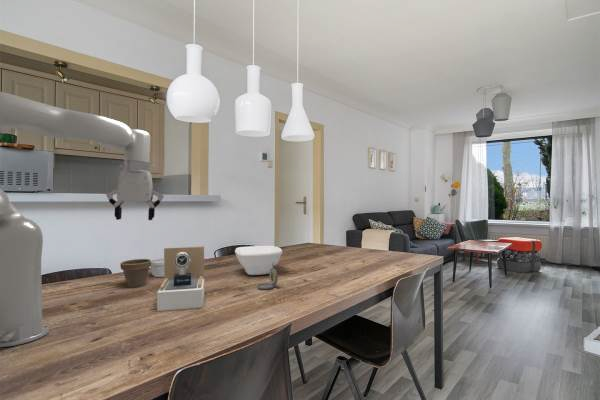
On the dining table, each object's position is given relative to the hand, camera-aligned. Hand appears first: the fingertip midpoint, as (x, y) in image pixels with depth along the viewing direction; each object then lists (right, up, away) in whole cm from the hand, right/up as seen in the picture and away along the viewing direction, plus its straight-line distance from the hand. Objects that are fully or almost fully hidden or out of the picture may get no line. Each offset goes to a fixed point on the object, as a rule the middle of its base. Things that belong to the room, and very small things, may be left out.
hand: (134, 219), depth 109 cm
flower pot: (-14, -29, +29) cm, 43 cm away
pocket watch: (+42, -29, +25) cm, 57 cm away
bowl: (+35, -29, +49) cm, 67 cm away
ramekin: (-9, -29, +47) cm, 56 cm away
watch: (+13, -23, +7) cm, 28 cm away
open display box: (+13, -29, +8) cm, 33 cm away
